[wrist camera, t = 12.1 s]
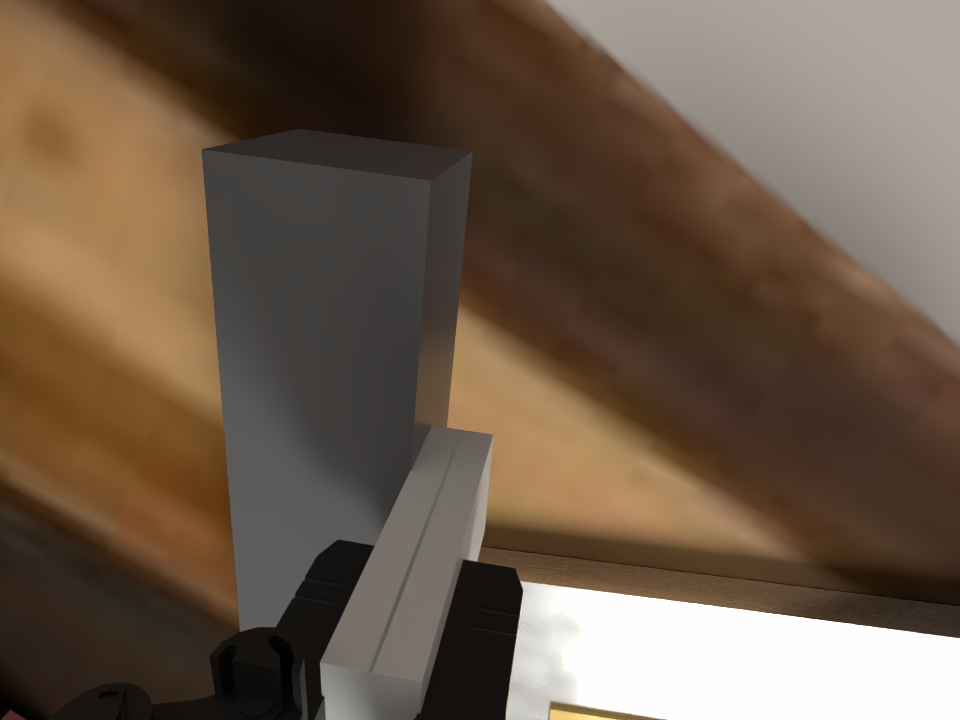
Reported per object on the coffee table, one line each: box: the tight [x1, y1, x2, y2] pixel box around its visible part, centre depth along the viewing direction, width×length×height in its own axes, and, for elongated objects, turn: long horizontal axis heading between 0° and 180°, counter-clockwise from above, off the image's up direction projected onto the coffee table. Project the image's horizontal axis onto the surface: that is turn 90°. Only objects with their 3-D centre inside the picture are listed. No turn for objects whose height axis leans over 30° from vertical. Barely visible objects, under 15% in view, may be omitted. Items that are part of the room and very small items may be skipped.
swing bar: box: [202, 129, 473, 632], centre depth 18 cm, size 4×27×4 cm, turn 174°
